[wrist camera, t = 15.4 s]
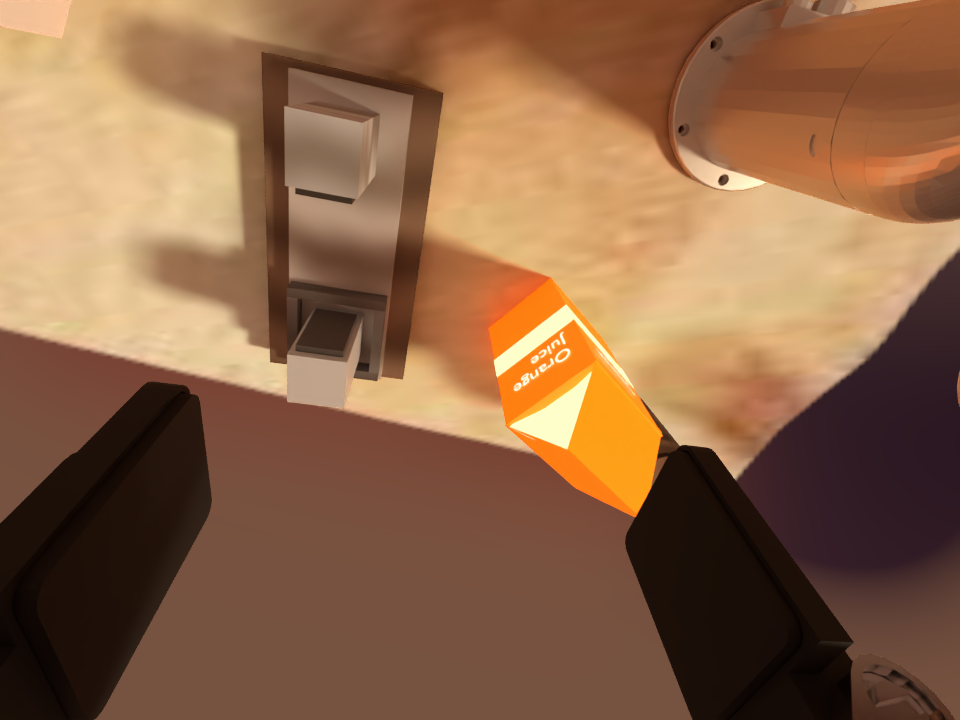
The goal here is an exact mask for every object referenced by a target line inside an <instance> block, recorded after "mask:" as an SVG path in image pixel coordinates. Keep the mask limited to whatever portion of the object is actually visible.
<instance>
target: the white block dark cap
mask: <svg viewBox="0 0 960 720" xmlns="http://www.w3.org/2000/svg"><path fill="white" fill-rule="evenodd" d="M363 322H364V313H358V312H352V311H345V310H339V309H332V308H325V307H319V306H315V307H314V309H313V310H312V312H311V314H310V316H309V317H308V319H307V321H306V322H305V324H304V326H303V328H302V329H301V331H300V333H299V335H298V336H297V338H296V340H295V342H294V343H293V345H292V347H291V349H290V350H289V352H288V354H287V402H293V403H302V404H310V405H318V406H327V407H335V408H343V409H344V407H345V403H346V400H347V397H348V394H349V390H350V387H351V384H352V381H353V377H354V374H355V371H356V367H357V364H358V361H359V358H360V354H361V344H362V333H363Z"/></svg>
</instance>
